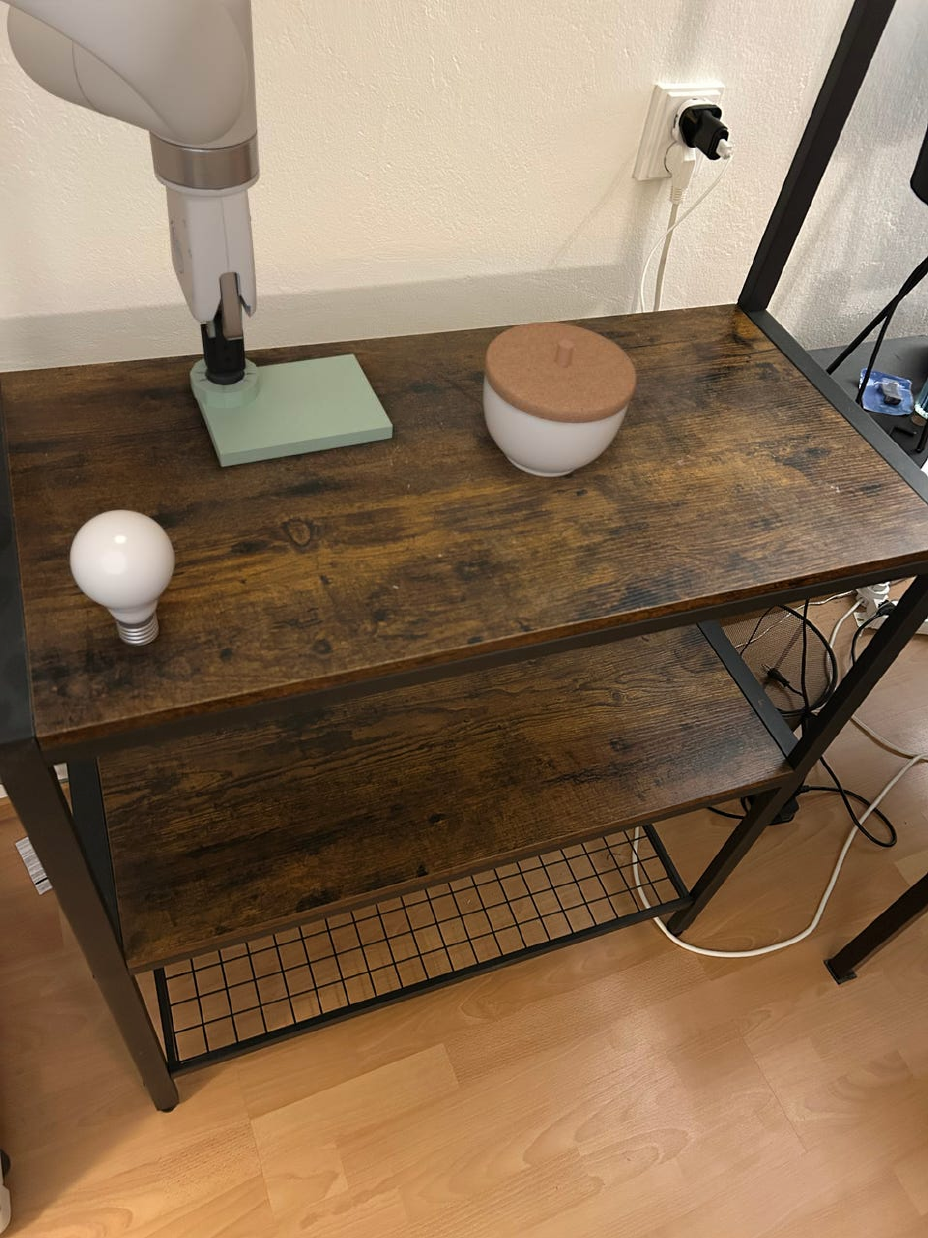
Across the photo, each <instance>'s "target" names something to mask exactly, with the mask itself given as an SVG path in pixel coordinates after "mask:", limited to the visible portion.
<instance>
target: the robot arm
mask: <svg viewBox="0 0 928 1238" xmlns="http://www.w3.org/2000/svg"><path fill="white" fill-rule="evenodd" d="M0 2H3V3H5V4H7V5H9V6H8V10H7V16H6V17H7V18H6V32H7V36H8V42H9V46H10V48H11V51H12V53H13V56H14V58H15V61H16V62H17V63H18V65H19V66H20V67H21V69H22V71H24V73H25V74H26V75H27V76H28V78H30V80H31V81H33V82H34V83H35V84H37V86H39V87H40V88H41V89H43V90H45V91H46V92H48V93H49V94H51V95H52V96H55V97H56V98H59V99H61V100H63V101H66V102H67V103H71V104H73V105H75V106H79V107H82V108H84V109H87V110H90V111H93V112H95V113H98V114H100V115H103V116H105V117H108V118H112V119H115V120H118V121H121V122H124V123H126V124H129V125H131V126H134V127H137V128H140V129H142V130H144V131H147V132H148V137H149V143H150V151H151V159H152V165H153V166H152V167H153V174H154V176H155V179H156V180H157V181H158V182H159V183H160V184H162V185H163V186H164V187H165V195H166V207H167V216H168V217H167V218H168V228H169V229H168V230H169V238H170V240H169V241H170V252H171V261H172V266H173V267H172V268H173V270H174V273H175V276H176V279H177V283H178V284H179V286H180V289H181V292H182V294H183V297H184V300H185V302H186V305H187V307H188V309H189V311H190V314H191V316H192V317H193V318H194V320H196V321H197V322H198V323H200V324H199V325H200V334H201V343H202V353H203V359H204V361H205V364H206V366H207V369H208V372H209V373H210V374H211V375H214V374H221V373H228V372H235V371H242V370H244V369H245V368H246V362H245V358H246V349H245V337H244V336H245V335H244V327H243V325H244V324H243V310H244V312H245V314H246V315H247V316H248V317H249V318H252V317H253V316H254V314H256V311H257V304H258V303H257V301H258V300H257V277H256V263H255V251H254V240H253V239H254V238H253V228H252V215H251V209H250V202H249V201H250V199H249V192H248V190H249V189H251V188H252V187H253V186H255V185H256V183H257V182H258V181H259V180H260V175H261V171H260V170H261V169H260V168H261V167H260V154H259V153H260V152H259V151H260V150H259V134H258V132H259V131H258V113H257V94H256V93H257V91H256V73H255V72H256V71H255V54H254V51H255V50H254V33H253V15H252V14H253V13H252V0H0Z"/></svg>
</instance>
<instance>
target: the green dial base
mask: <svg viewBox="0 0 928 1238" xmlns="http://www.w3.org/2000/svg"><path fill="white" fill-rule="evenodd" d="M245 362H246V368H245V369H244V370H242V371H241V375H242V380H241V381H239V382H237V383H235V384H231V385H219V384H213V383H212V382H210V381H209V376H208V369H207V366H206V364H205V361H204V358H202V359H200V360H198V361H196V362H195V363H194V365H193V367H192V369H191V370H190V372H189V377H190V385H191V390H192V393H193V395H194V398H195V399H196V401H197V404H198V406H199V409H200V412H201V414H202V417H203V420H204V422H205V426H206V428H207V431H208V434H209V437H210V439H211V441H212V444H213V447H214V450H215V452H216V455H217V459H218V461H219V463H220V467H222V468H224V467H229V466H235V465H241V464H248V463H253V462H259V461H265V460H271V459H277V458H283V457H288V456H294V455H295V456H296V455H300V454H306V453H312V452H317V451H318V452H319V451H324V450H330V449H336V448H341V447H348V446H352V445H360V444H366V443H372V442H377V441H384V440H388V439H392V438H393V429H394V427H393V426H394V425H393V424H392V422H391V420H390V418H389V416H388V414H387V413H386V411H385V409H384V407H383V406H382V403H381V402H380V400H379V398H378V396H377V394H376V393H375V391H374V389H373V387H372V385H371V384H370V381H369V380H368V377H367V376H366V374H365V373H364V371H363V369H362V367H361V365H360V363H359V361H358V359H357V358H356V356H355V354H354V353H350V354H343V355H342V354H341V355H335V356H328V357H321V358H314V359H305V360H299V361H292V362H285V363H277V364H269V365H262V366H257V365H256V364H255V362H252V361H251V360H249V359H248V358H246V357H245Z"/></svg>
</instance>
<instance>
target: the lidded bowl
mask: <svg viewBox="0 0 928 1238" xmlns="http://www.w3.org/2000/svg"><path fill="white" fill-rule="evenodd" d="M483 368H484V375H483V377H484V378H483V385H482V408H483V415H484V421H485V424H486V427H487V430H488V432H489V434H490V437H491V438H492V440H493V442H494V443H495V445H496V446H497V448H499V449H500V451H501V452H502V453H503V454H504V455H505V456H506V457H505V458H507V459H508V461H509V462H510V463H511V464H512V465H513V466H515V467H516V468H518V469H520V470H521V471H523V472H525V473H527V474H530V475H534V476H538V477H546V478H554V477H555V478H556V477H562V476H565V475H569V474H571V473H572V472H575V470H578V469H581V468H582V467H584V466H587V465H588V464H590V463H592V462H593V461H595V459H597V458H598V457H600V456H601V455H602V454H603V453H604V452H605V450H607V448H608V447H609V446H610V445H611V444H612V442H613V440H614V439H615V437H616V435H617V434H618V432H619V430H620V427H621V426H622V424H623V421H624V419H625V416H626V413H627V411H628V409H629V408H628V407H629V404H630V402H631V400H632V398H633V396H634V394H635V390H636V385H637V381H638V379H637V378H638V377H637V371H636V369H635V365H634V364H633V362H632V360H631V358H630V357H629V356H628V354H627V353H626V352H625V351H624V350H623V349H622V348H621V347H620V346H619V345H617V344H616V343H614V341H612V340H610V339H609V338H607V337H605V336H603V335H602V334H600V333H597V332H595V331H592V330H590V329H587V328H585V327H584V328H583V327H581V326H577V325H573V324H569V323H568V324H567V323H561V322H550V321H540V322H539V321H538V322H537V321H536V322H529V323H525V324H524V323H523V324H519V325H515V326H513V327H511V328H508V329H506V330H504V331H502V332H501V333H500V334H498V335H497V336H496V337H495V338H493V340H491V342H490V343H489V345H488V346H487V349H486V353H485V359H484V367H483Z"/></svg>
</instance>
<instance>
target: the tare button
mask: <svg viewBox="0 0 928 1238" xmlns="http://www.w3.org/2000/svg"><path fill="white" fill-rule="evenodd" d="M208 376H209V381H210V382H212V383H213V384H219V385H231V384H235V383H237V382H239V381H241V380H242V375H241V371H235V372H228V373H221V374H214V375H211V374H210V373H209V372H208Z"/></svg>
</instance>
